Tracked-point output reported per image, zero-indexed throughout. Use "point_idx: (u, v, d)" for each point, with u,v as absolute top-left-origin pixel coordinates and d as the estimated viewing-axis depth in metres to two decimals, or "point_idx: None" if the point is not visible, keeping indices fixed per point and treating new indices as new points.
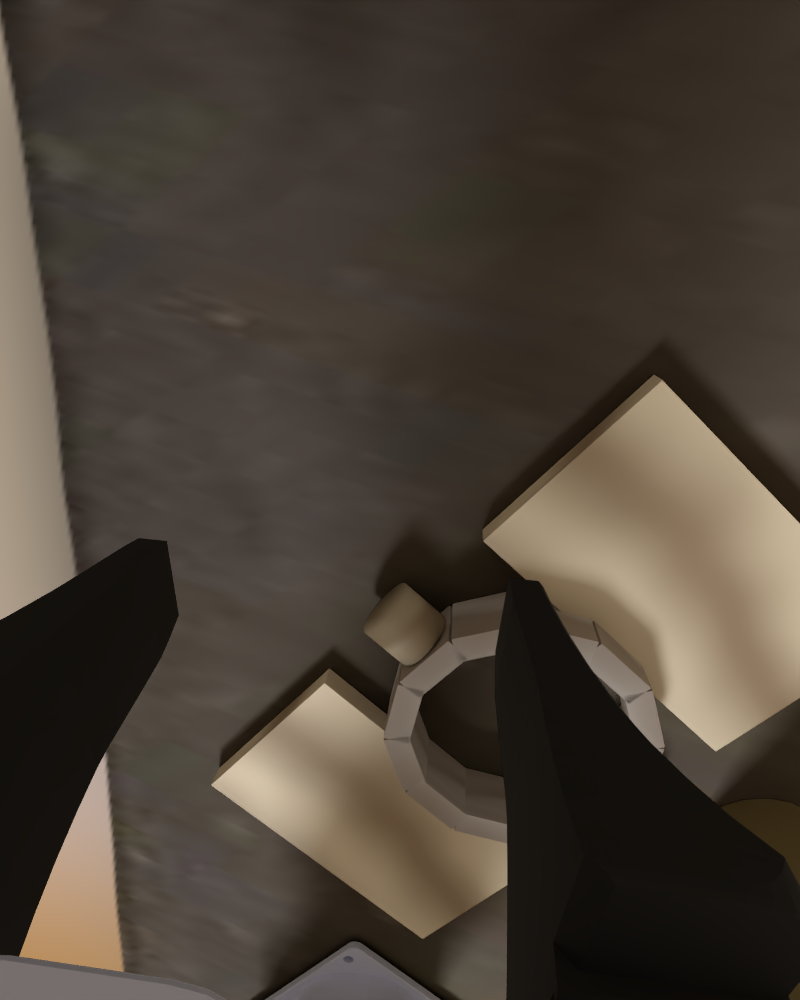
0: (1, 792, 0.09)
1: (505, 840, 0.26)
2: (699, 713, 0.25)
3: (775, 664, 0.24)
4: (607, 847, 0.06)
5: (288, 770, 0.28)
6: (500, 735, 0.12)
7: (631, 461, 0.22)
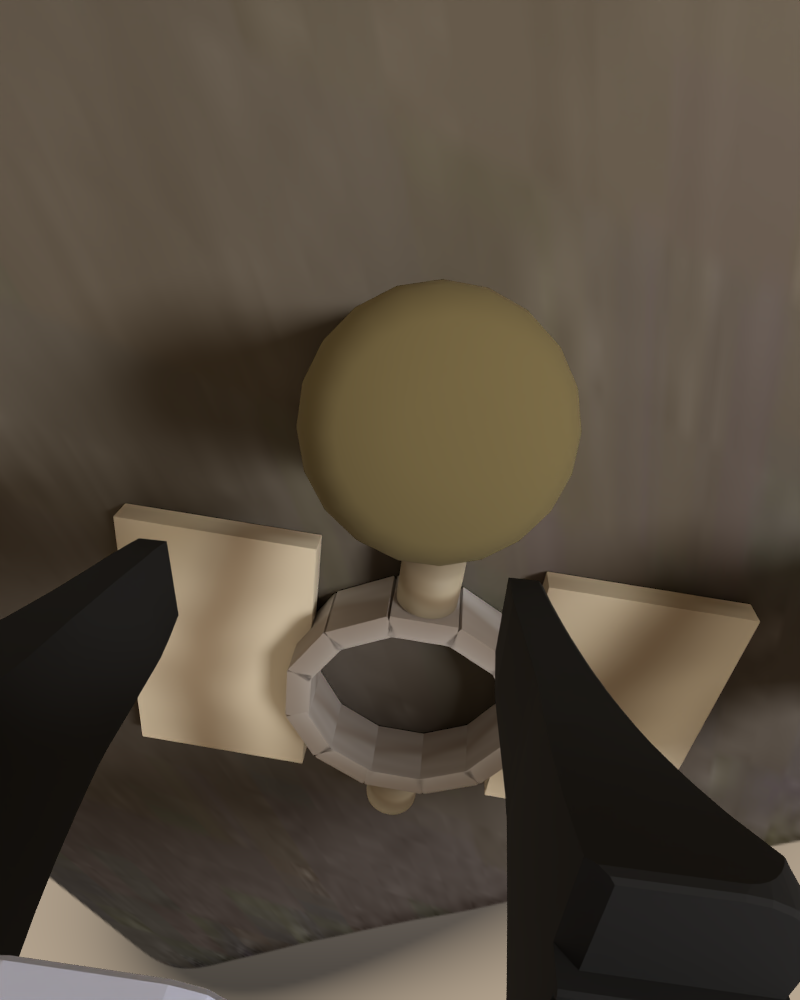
0: (1, 792, 0.09)
1: None
2: (296, 584, 0.26)
3: (214, 569, 0.26)
4: (608, 848, 0.06)
5: None
6: (500, 735, 0.12)
7: (189, 725, 0.31)
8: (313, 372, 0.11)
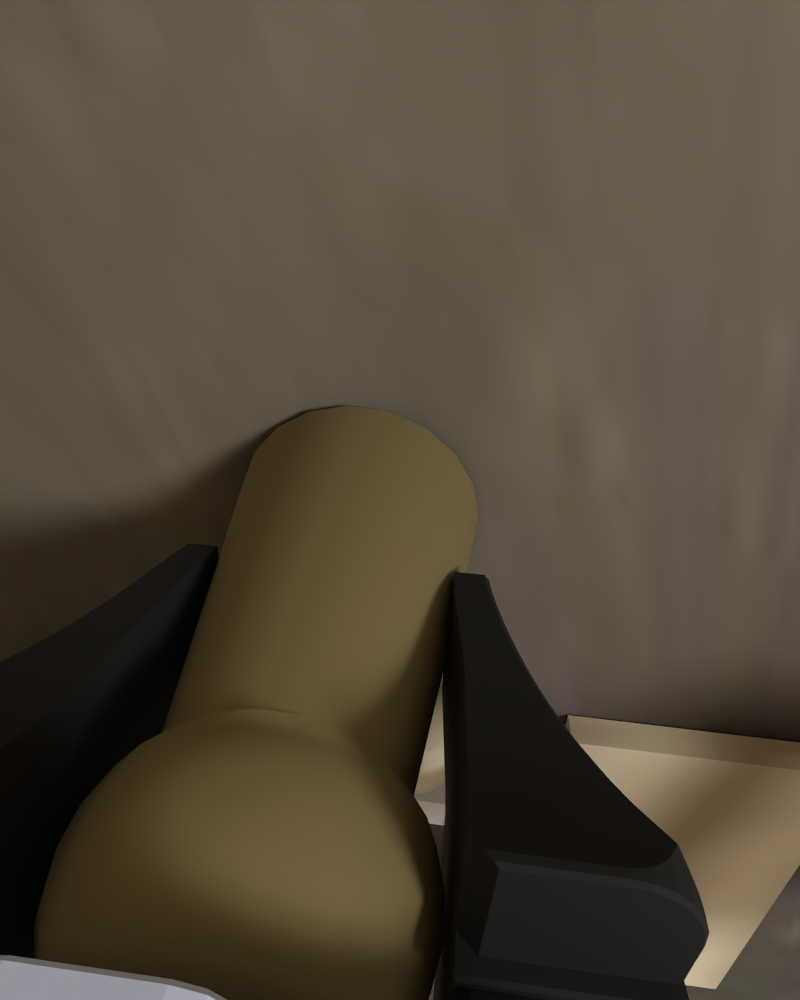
0: (74, 802, 0.09)
1: None
2: None
3: None
4: (499, 834, 0.06)
5: None
6: (444, 728, 0.12)
7: None
8: None
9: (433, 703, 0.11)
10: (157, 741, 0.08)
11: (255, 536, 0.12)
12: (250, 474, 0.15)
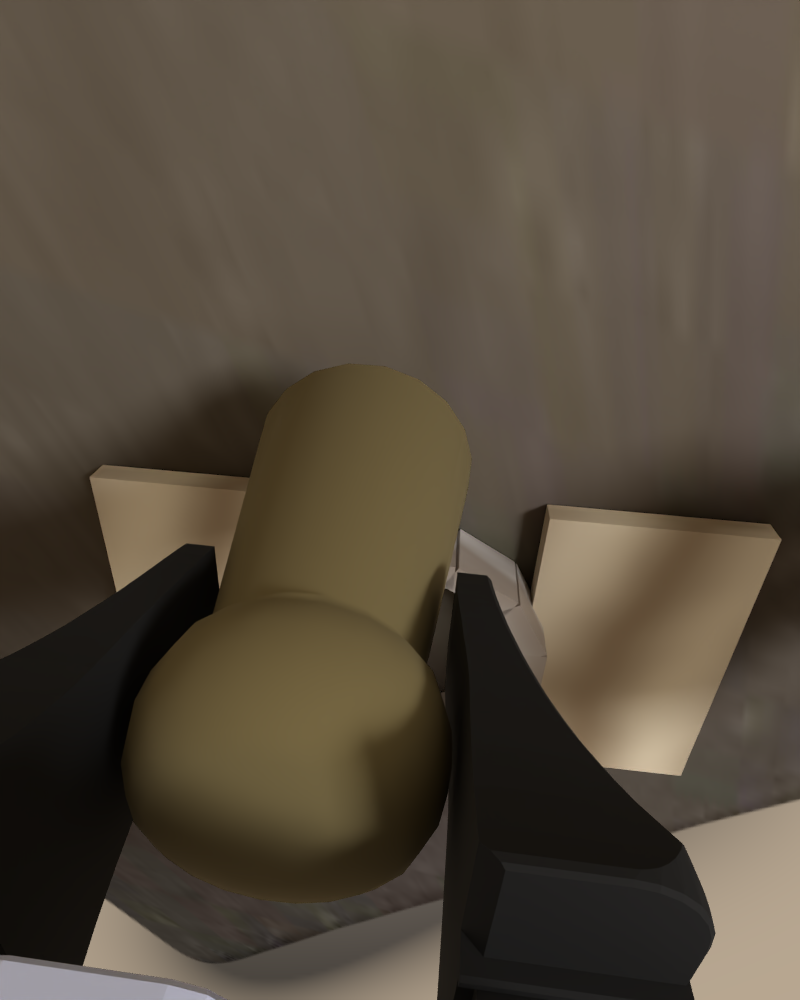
0: (70, 801, 0.09)
1: (522, 615, 0.23)
2: None
3: (198, 527, 0.25)
4: (505, 834, 0.06)
5: (615, 740, 0.28)
6: None
7: None
8: (123, 751, 0.10)
9: (436, 600, 0.13)
10: (208, 617, 0.10)
11: (274, 472, 0.14)
12: (265, 430, 0.17)
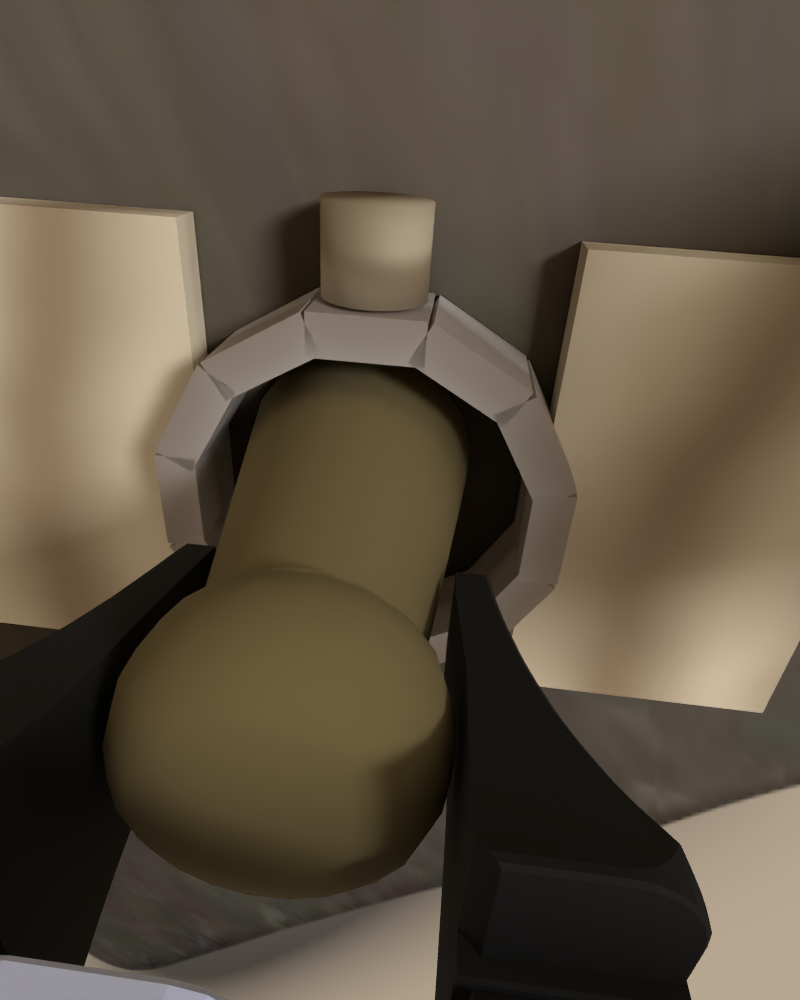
0: (72, 801, 0.09)
1: (539, 418, 0.14)
2: (156, 301, 0.15)
3: (20, 287, 0.15)
4: (501, 834, 0.06)
5: (670, 656, 0.19)
6: None
7: (52, 597, 0.21)
8: (105, 733, 0.09)
9: (437, 584, 0.12)
10: (198, 591, 0.10)
11: (268, 452, 0.13)
12: (259, 415, 0.16)
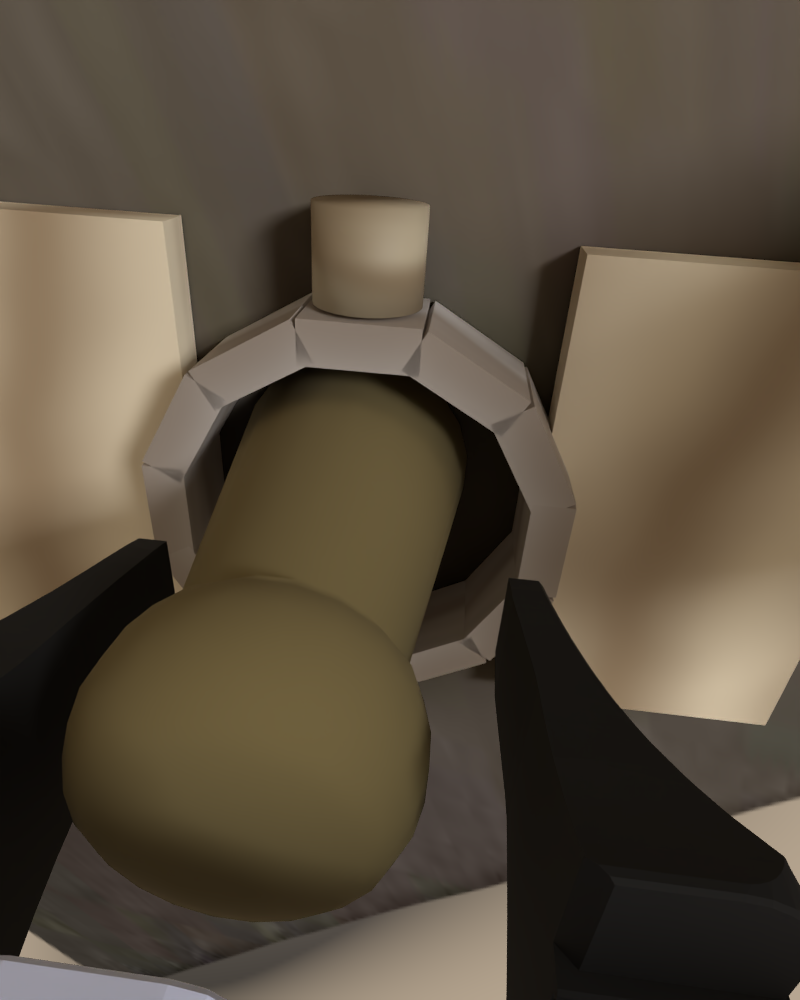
0: (1, 792, 0.09)
1: (537, 427, 0.14)
2: (144, 307, 0.15)
3: (3, 292, 0.15)
4: (607, 847, 0.06)
5: (671, 668, 0.19)
6: (500, 735, 0.12)
7: None
8: (64, 743, 0.09)
9: (422, 595, 0.12)
10: (166, 598, 0.09)
11: (254, 457, 0.13)
12: (251, 420, 0.16)
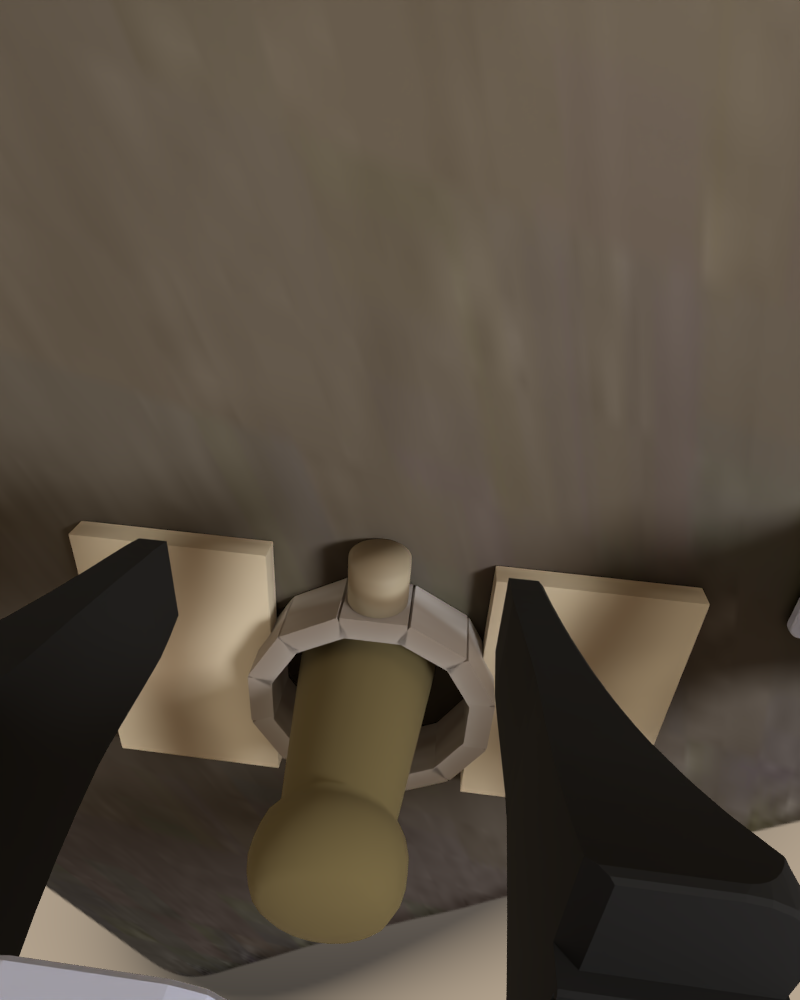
0: (1, 792, 0.09)
1: (470, 669, 0.25)
2: (251, 591, 0.26)
3: None
4: (607, 847, 0.06)
5: None
6: (500, 735, 0.12)
7: (165, 735, 0.31)
8: (248, 866, 0.20)
9: (406, 772, 0.23)
10: (289, 797, 0.21)
11: (317, 691, 0.24)
12: None
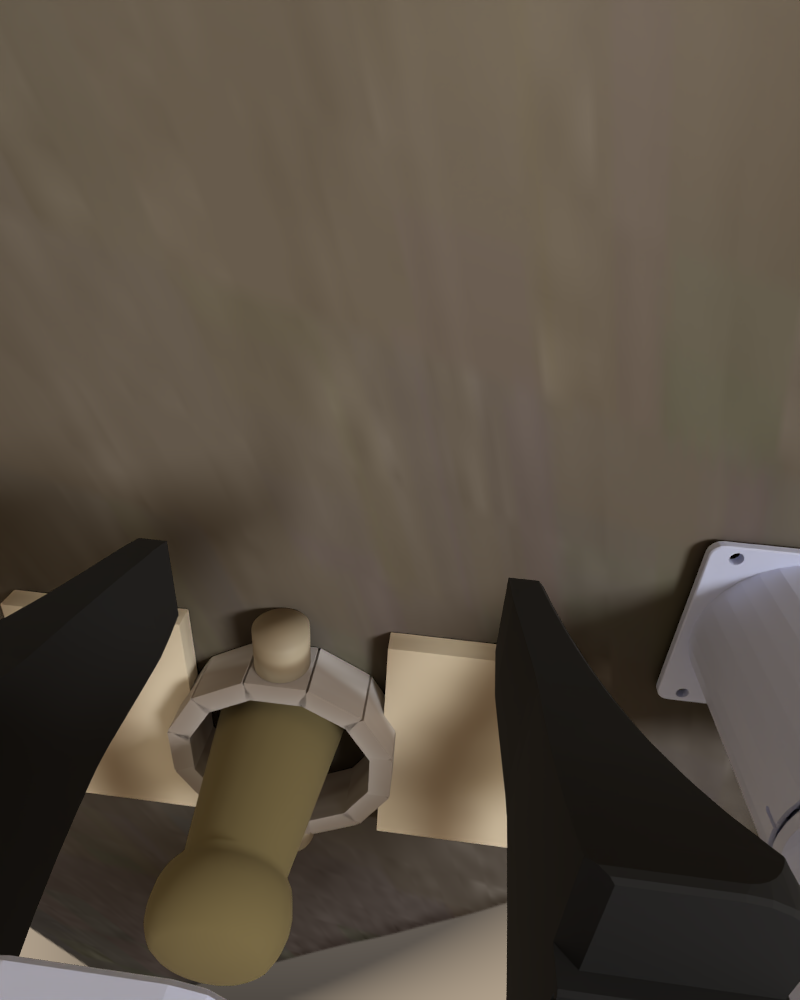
0: (1, 792, 0.09)
1: (366, 728, 0.27)
2: (169, 655, 0.29)
3: None
4: (607, 847, 0.06)
5: (470, 820, 0.32)
6: (500, 735, 0.12)
7: (103, 778, 0.34)
8: (144, 917, 0.22)
9: (301, 825, 0.26)
10: (183, 854, 0.23)
11: (224, 749, 0.27)
12: None
